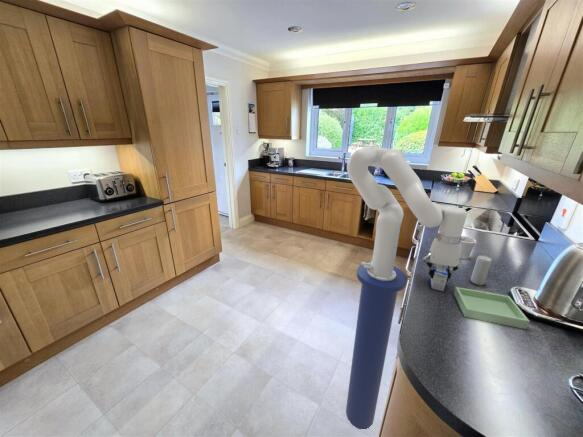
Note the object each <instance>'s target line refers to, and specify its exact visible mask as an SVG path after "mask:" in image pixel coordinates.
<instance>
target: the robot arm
mask: <svg viewBox="0 0 583 437" xmlns="http://www.w3.org/2000/svg"><path fill="white" fill-rule="evenodd" d="M346 162H347V163H346V173H347V175H348V178H349V180H350V181H351V182H352V184H353V185H354V187H355V188H356V190H357V192H358V194H359V195H360V197H361V198H362V200H363V201H364V203H365V204H366V206H367V207H368V208H369V209H371V210H374V211H378V213H379V214H378V216H377V218H376V222H375V223H376V224H375V236H374V245H373V250H372V251H373V252H372V258H371V260H370V261H368V262H369V263H366V262H367V261H361V264H362V265H361V264H360V265H361V266H364V268H365V269H368V270H367V272H368V274H369V275H370V276H371V277H373V278H374V279H377V280H380V281H391V280H394V279H395V278H396V273H395V271H394V270H393V268H394V266H395V261H396V256H397V251H398V246H399V240H400V232H401V227H402V222H403V219H404V215H405V214H404V209H403V208H402V206H401V204H400V203H399V202H398V200H397V199H396V197H395V196H394V194H393V192H392V191H391V190H390V189H389V188H388V187H387V186H386V185H384V184H379V183H378V181H377V180H376V178H375V177H374V176H373V174H372V173H371V171H369V167H375V168H381V169H382V170H383V171H384V173H385V174H386V176H387V177H388V178H389V180H390V181H391V182H392V184H394V186H395V187H396V189H398V192H399V194H400V195H401V197H402V198H403V200H404V201H405V203H406V205H407V206H408V208H409V210H410V211H411V212H412V214H413V215H414V217H415V218H416V219H417V221H418V222H419V223H420V224H421V225H422V226H423V227H426V228H429V229H435V228H436V227H439V228H438V232H437V236H436V237H435V238H434V239H433V241H432V243H431V245H430V248H429V250H428V254H427V255H425V256H424V257H422V262H424V263H425V264H426V265H427V266H428V268H429V270H428V276H429V277H430V279H431V278H433V276H434V272H435V270H434V268H435V266H436V265H437V264H439V265H446V267H447V272H448V277H447V280H446V282H448V281H449V280H450V279H451V276H452V274H453V273H454V272H455V271H457V270H459V269H461V268H464V267H465V266H464V264H463V263H462V261H461V260H460V259H461V258H460V253H461V243H460V241H462V240H463V241H464V240H465V237H461V236H462V234H463V231H464V227H465V223H466V219H467V215H468V212H467V210H466V209H465V208H462V207H459V206H448V205H442V204H439V203H435V202H432V200H431V199H430V197H429V196H428V194H427V193H426V190H425V188H424V186H423V183H422V181H421V179H420V177H419V176H418V175H417V173H416V172H415V171H414V169H413V168H412V166H410V164H409V162H407V160H406V157H405V154H404V153H403V152H402V151H401V150H400V149H395V148H385V147H379V146H372V145H371V146H370V145H368V146H367V145H365V146H361V147H358V148H356V149H354V151H352V152H351V153H350V155H349V157H348V158H347V161H346ZM370 262H371V263H370Z"/></svg>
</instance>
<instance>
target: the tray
mask: <svg viewBox="0 0 583 437" xmlns="http://www.w3.org/2000/svg"><path fill="white" fill-rule="evenodd" d="M453 296H454V297H455V299H456V302H457V304H458V307H459V308H460V310H461V312H462V315H463V316H464V317H465V318H469V319H474V320H479V321H483V322H484V321H485V322H490V323H494V324H498V325H503V326H507V327H513V328H514V327H515V328H519V329H523V330H527V329H528V326H529V324H530V320H529V318H528V317H527V316H526V315H525V313H524V312H523V311H522V310H521V309H520V307H519V306H518V304H517V303H516V302H515V301H514V299H512V298H511V296H510V295H505V294H499V293H494V292H487V291H482V290H476V289H471V288H464V287H459V286H455V288H454V291H453Z"/></svg>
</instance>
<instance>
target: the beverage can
mask: <svg viewBox="0 0 583 437" xmlns="http://www.w3.org/2000/svg"><path fill="white" fill-rule="evenodd" d="M491 264H492V258H491V257H489V256H487V255H478V256H477V257H476V261H475V263H474V267H473V270H472V274H471V277H470V282H471V283H472V284H474V285H477V286H484V285H485V282H486V280H487V277H488V274H489V271H490V267H491Z"/></svg>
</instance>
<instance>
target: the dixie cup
mask: <svg viewBox="0 0 583 437" xmlns="http://www.w3.org/2000/svg"><path fill="white" fill-rule="evenodd" d="M461 237H465V240H464V241H463V240H462V241H460V243H461V253H460V259H461V260H469V258H470V256H471V253H472V252H473V249H474V248H475V245H476V243H477V240H476V239H475V238H473V237H471V236H465V235H461Z"/></svg>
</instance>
